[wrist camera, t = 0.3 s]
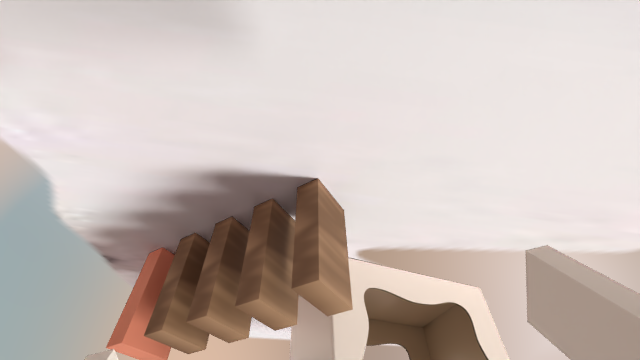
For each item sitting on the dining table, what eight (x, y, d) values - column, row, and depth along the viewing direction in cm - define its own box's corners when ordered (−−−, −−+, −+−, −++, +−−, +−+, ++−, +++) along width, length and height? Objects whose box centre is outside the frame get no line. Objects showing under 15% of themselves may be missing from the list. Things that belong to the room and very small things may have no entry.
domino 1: (162, 247, 35) (121, 342, 28) (196, 268, 38) (167, 359, 30) (149, 253, 36) (105, 347, 28) (182, 273, 39) (151, 364, 31)
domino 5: (318, 178, 28) (318, 279, 21) (343, 210, 31) (352, 309, 24) (297, 187, 29) (291, 288, 22) (324, 218, 32) (327, 316, 25)
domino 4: (272, 198, 30) (258, 298, 23) (301, 227, 33) (297, 324, 25) (254, 206, 31) (234, 306, 23) (283, 234, 34) (275, 330, 26)
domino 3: (232, 216, 32) (206, 315, 24) (262, 242, 34) (248, 337, 27) (215, 223, 32) (186, 322, 25) (247, 248, 35) (228, 343, 28)
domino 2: (195, 232, 33) (161, 330, 26) (227, 256, 36) (205, 349, 29) (180, 239, 34) (143, 335, 27) (213, 261, 37) (188, 354, 30)
